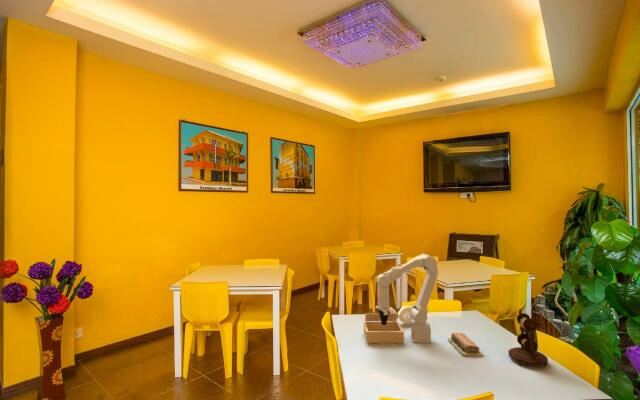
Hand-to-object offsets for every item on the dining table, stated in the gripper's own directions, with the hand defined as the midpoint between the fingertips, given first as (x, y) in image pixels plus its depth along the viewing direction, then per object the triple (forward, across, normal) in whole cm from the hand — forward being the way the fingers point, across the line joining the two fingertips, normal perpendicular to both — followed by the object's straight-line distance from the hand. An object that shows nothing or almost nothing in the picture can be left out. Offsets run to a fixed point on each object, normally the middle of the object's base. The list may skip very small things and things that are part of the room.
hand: (383, 324), depth 169 cm
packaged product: (+9, +8, +38) cm, 40 cm away
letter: (+9, -24, +12) cm, 28 cm away
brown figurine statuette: (+9, +21, +60) cm, 64 cm away
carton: (+8, -4, 0) cm, 9 cm away
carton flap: (-1, -9, 0) cm, 9 cm away
